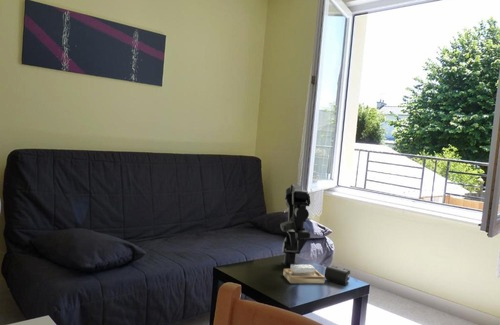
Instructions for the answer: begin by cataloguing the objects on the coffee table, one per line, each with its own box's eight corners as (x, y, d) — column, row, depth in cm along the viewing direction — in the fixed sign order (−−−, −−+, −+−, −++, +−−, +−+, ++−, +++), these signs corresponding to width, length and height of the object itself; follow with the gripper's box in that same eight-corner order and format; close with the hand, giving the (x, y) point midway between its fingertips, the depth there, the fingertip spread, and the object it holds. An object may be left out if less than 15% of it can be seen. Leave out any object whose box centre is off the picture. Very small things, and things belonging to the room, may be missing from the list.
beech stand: (283, 274, 184) (283, 268, 184) (314, 275, 188) (315, 268, 188) (290, 283, 173) (291, 276, 173) (324, 283, 177) (324, 276, 177)
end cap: (323, 281, 180) (325, 267, 180) (329, 277, 186) (330, 263, 186) (344, 287, 175) (346, 272, 174) (349, 283, 180) (351, 269, 180)
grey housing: (309, 273, 184) (310, 264, 184) (314, 276, 179) (315, 268, 179) (289, 273, 181) (290, 264, 181) (293, 276, 176) (294, 268, 176)
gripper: (276, 212, 194) (273, 243, 194) (289, 219, 176) (286, 253, 176) (297, 213, 196) (294, 243, 197) (312, 220, 178) (309, 254, 179)
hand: (295, 248), depth 187 cm, fingers open, 9 cm apart
